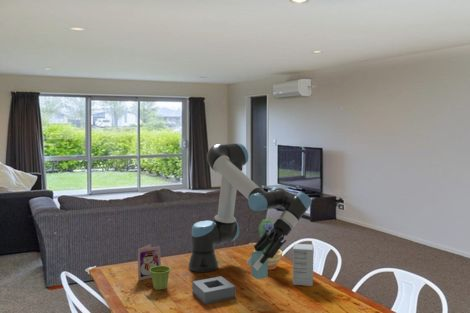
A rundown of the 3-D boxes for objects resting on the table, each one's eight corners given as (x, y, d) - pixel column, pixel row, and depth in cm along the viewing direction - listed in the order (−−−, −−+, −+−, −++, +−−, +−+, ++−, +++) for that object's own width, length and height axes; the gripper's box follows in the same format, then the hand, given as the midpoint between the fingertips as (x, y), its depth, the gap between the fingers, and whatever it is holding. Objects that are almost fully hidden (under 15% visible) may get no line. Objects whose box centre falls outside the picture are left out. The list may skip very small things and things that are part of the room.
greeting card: (139, 281, 200) (138, 250, 198) (133, 276, 206) (132, 246, 205) (161, 276, 206) (160, 246, 205) (155, 272, 212) (155, 242, 211)
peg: (251, 275, 180) (251, 252, 179) (261, 273, 182) (261, 250, 181) (257, 279, 175) (257, 255, 174) (267, 277, 177) (267, 253, 177)
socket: (192, 292, 185) (192, 281, 185) (221, 286, 191) (221, 276, 191) (204, 304, 172) (204, 292, 172) (235, 297, 179) (235, 286, 178)
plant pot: (174, 285, 194) (174, 266, 193) (164, 292, 185) (164, 273, 185) (156, 282, 197) (156, 264, 196) (145, 290, 188) (145, 271, 188)
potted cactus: (248, 269, 214) (248, 221, 212) (258, 260, 228) (258, 215, 227) (278, 273, 208) (277, 223, 207) (286, 264, 222) (286, 217, 221)
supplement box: (312, 286, 191) (313, 249, 190) (292, 285, 193) (292, 248, 192) (313, 279, 200) (313, 244, 199) (293, 277, 202) (293, 243, 201)
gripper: (302, 233, 176) (268, 278, 170) (279, 224, 192) (247, 265, 186) (292, 222, 173) (256, 267, 167) (269, 214, 189) (236, 255, 183)
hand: (251, 266), depth 176 cm, fingers closed on peg, 5 cm apart
